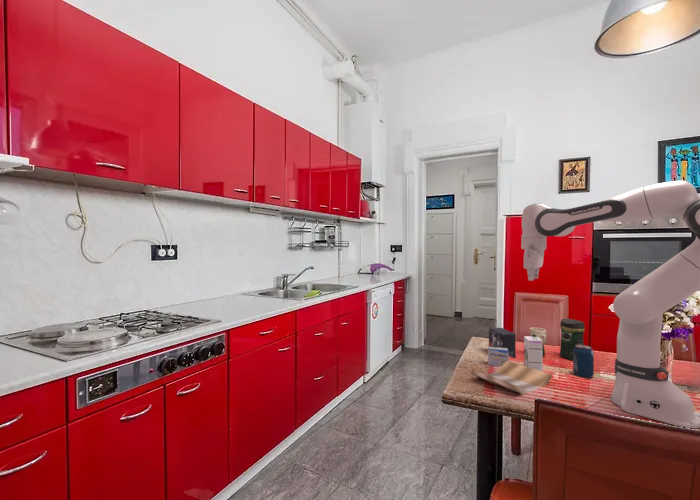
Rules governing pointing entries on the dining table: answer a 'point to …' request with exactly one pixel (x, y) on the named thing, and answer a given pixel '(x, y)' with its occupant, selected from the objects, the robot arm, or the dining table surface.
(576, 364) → the soda can
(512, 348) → the small box
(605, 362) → the dining table surface
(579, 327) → the coffee jar
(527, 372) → the oak plank
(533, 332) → the character mug
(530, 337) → the syrup box
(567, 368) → the dining table surface
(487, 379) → the birch plank
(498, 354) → the medicine box
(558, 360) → the dining table surface
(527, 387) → the grey plank
